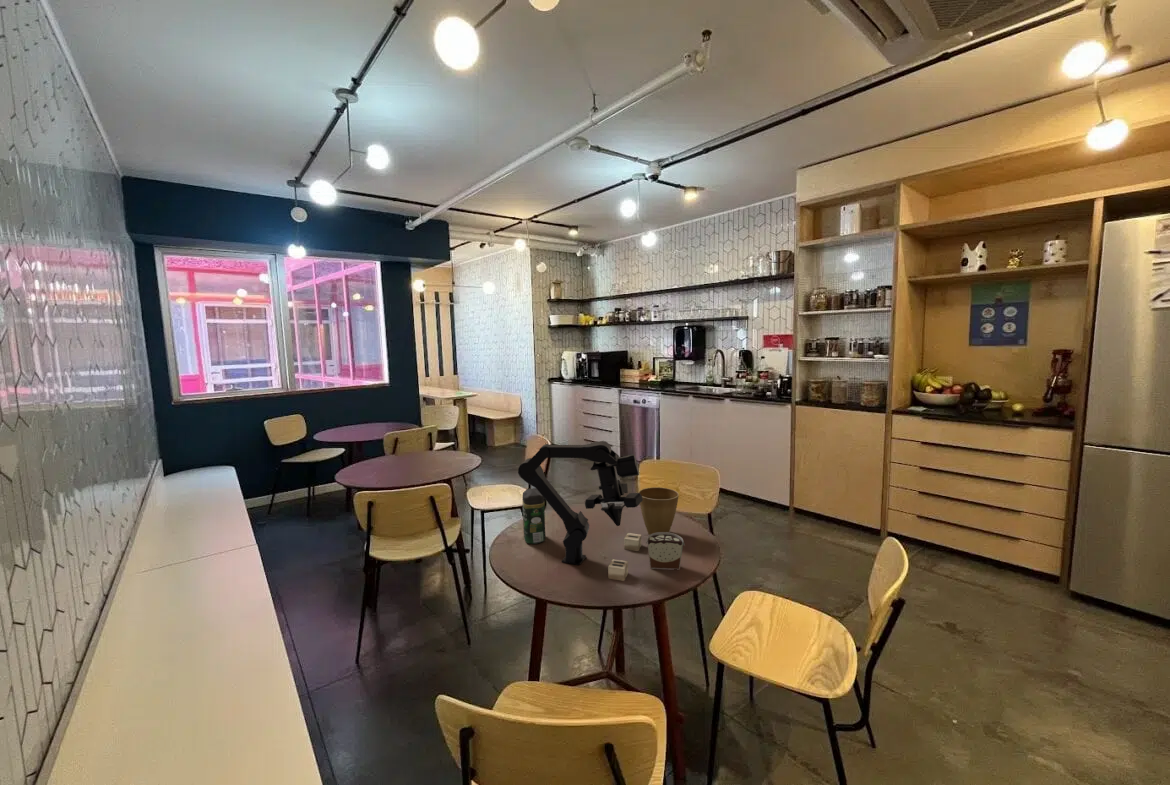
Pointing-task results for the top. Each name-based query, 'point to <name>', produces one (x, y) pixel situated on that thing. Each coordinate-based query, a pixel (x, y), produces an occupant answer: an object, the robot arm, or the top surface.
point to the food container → (665, 550)
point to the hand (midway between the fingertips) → (618, 525)
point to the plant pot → (658, 508)
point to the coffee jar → (533, 516)
